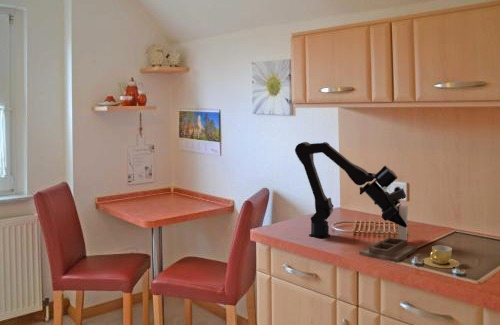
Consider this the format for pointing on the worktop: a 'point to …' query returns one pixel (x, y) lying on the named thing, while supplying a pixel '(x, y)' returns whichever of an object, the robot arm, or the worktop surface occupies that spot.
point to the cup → (441, 257)
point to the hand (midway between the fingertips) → (406, 225)
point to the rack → (389, 249)
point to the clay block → (404, 214)
